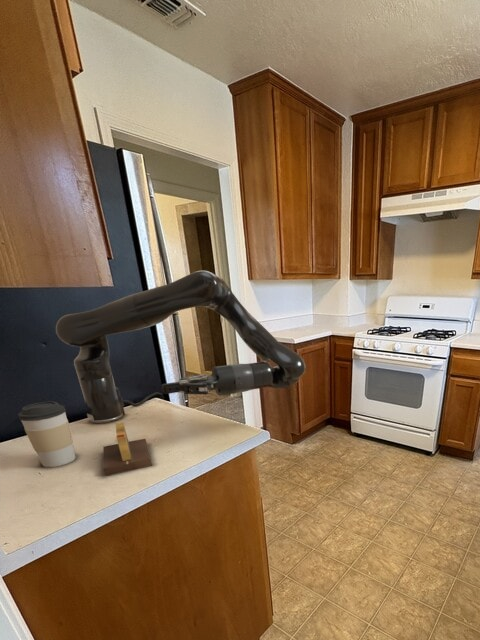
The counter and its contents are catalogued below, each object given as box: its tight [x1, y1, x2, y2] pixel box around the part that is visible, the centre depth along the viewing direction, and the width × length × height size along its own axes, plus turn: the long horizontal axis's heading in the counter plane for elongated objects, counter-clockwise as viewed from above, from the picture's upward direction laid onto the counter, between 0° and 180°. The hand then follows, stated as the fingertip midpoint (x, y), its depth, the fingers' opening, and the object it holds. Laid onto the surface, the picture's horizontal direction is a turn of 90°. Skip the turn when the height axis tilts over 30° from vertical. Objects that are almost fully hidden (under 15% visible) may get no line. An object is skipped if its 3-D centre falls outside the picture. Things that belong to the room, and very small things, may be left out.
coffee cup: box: [17, 401, 76, 468], centre depth 86 cm, size 9×9×15 cm
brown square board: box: [90, 438, 160, 477], centre depth 89 cm, size 15×15×2 cm
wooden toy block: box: [115, 422, 131, 461], centre depth 87 cm, size 11×2×6 cm, turn 30°
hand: (162, 389), depth 85 cm, fingers closed
